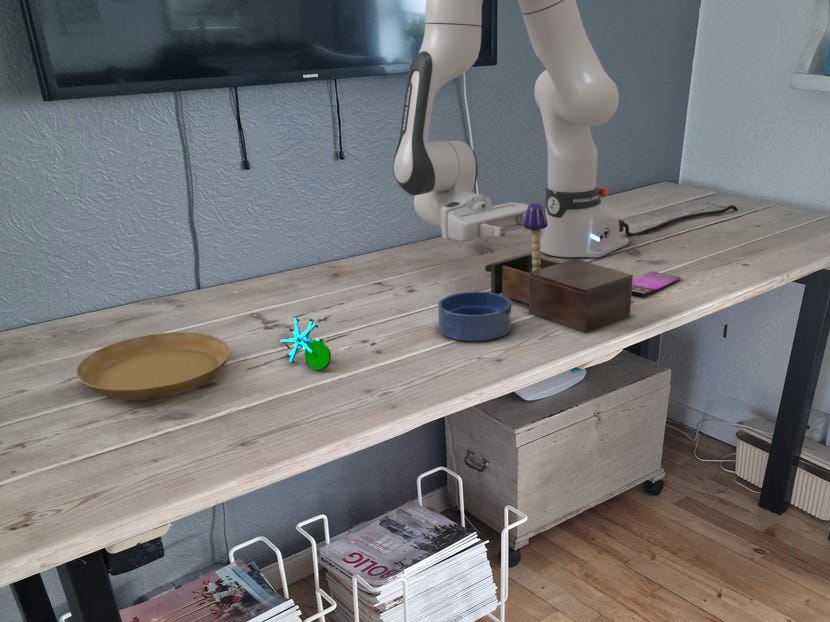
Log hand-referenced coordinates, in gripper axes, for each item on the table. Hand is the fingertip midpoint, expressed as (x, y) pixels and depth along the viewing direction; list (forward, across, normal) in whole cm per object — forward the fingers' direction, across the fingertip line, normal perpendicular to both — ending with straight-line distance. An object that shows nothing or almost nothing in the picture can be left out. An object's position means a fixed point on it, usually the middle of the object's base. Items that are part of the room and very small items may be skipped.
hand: (519, 228), depth 172 cm
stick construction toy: (0, +49, -14) cm, 51 cm away
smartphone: (+15, -23, -14) cm, 30 cm away
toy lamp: (+5, 0, -12) cm, 13 cm away
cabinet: (+17, 0, -14) cm, 21 cm away
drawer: (+2, 0, -13) cm, 13 cm away
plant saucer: (-12, +72, -14) cm, 74 cm away
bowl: (+9, +20, -14) cm, 25 cm away
